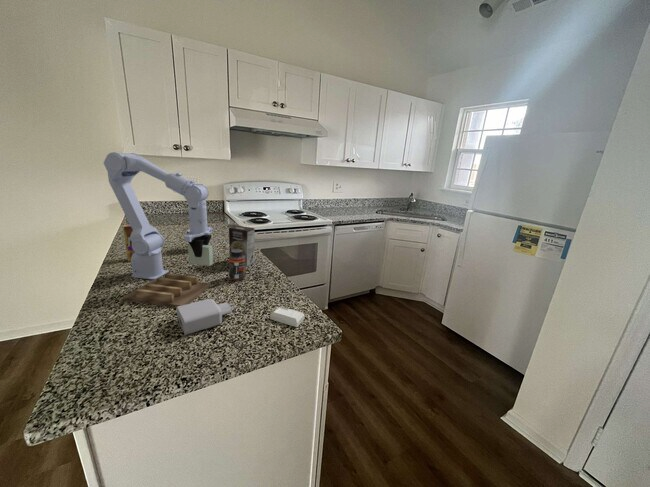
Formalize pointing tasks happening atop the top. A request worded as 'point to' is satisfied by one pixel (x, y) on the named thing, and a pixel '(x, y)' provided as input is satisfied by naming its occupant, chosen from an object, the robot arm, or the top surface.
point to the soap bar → (287, 316)
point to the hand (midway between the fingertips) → (200, 255)
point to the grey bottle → (201, 315)
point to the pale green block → (204, 259)
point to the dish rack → (168, 291)
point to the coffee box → (242, 242)
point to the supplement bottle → (237, 265)
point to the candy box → (128, 240)
